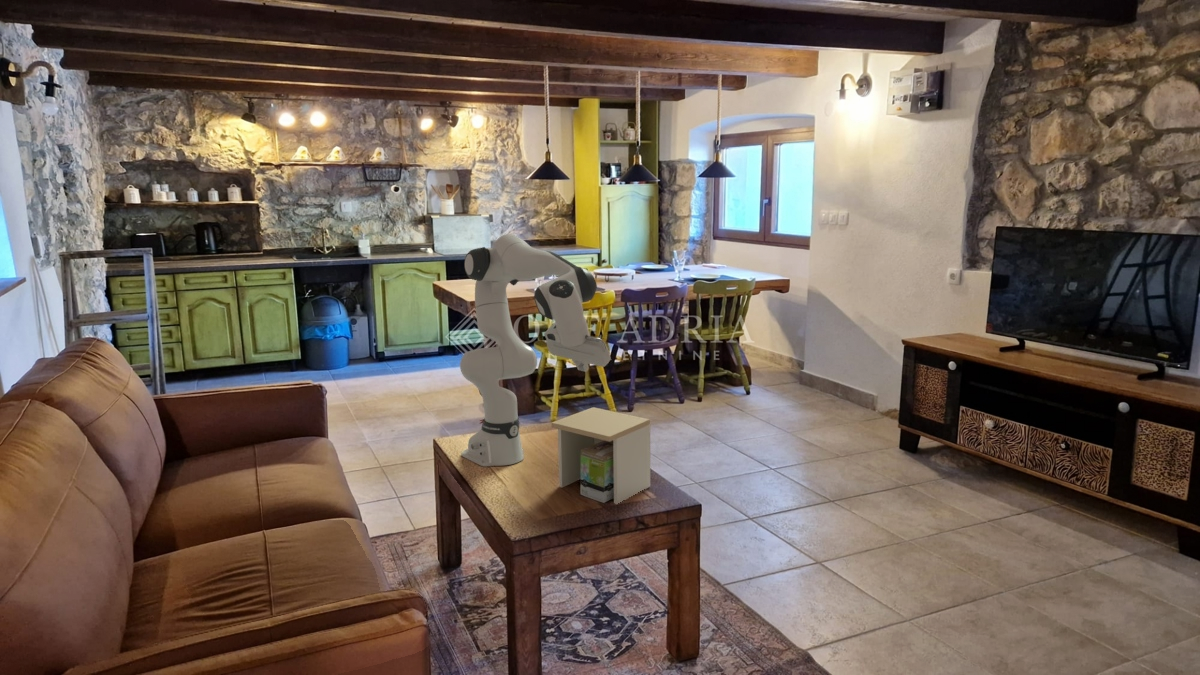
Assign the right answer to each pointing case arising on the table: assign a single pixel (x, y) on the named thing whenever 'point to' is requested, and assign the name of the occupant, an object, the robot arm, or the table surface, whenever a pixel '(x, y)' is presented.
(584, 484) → the tea box
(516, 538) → the table surface
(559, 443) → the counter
